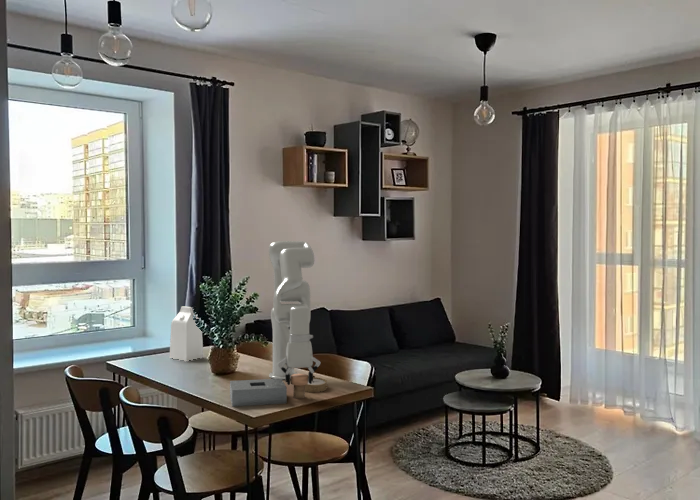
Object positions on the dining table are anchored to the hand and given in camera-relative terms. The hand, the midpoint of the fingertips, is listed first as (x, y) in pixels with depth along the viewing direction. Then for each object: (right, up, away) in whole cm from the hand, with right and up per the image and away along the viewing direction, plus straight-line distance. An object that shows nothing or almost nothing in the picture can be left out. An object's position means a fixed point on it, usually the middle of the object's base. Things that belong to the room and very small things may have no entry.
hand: (299, 383), depth 250 cm
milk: (-63, -3, +75) cm, 98 cm away
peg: (0, -6, 0) cm, 6 cm away
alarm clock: (+3, -6, +16) cm, 17 cm away
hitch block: (-16, -6, -4) cm, 17 cm away
